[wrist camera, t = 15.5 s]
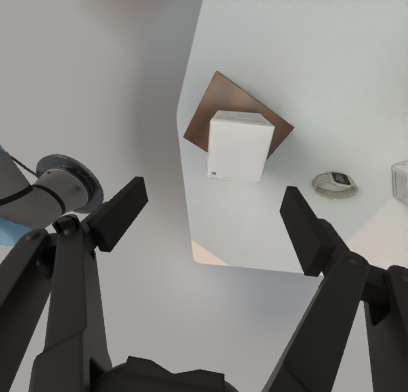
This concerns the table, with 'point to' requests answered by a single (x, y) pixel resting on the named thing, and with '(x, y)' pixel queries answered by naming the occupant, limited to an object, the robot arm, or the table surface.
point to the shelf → (231, 101)
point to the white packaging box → (238, 146)
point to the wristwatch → (339, 181)
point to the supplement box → (400, 181)
